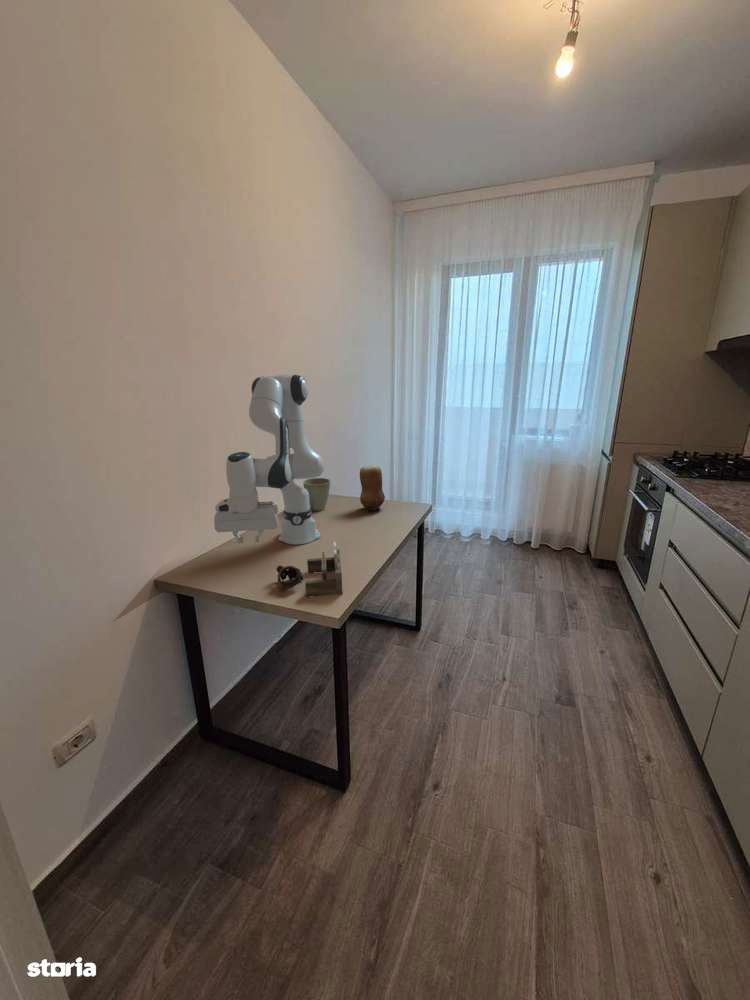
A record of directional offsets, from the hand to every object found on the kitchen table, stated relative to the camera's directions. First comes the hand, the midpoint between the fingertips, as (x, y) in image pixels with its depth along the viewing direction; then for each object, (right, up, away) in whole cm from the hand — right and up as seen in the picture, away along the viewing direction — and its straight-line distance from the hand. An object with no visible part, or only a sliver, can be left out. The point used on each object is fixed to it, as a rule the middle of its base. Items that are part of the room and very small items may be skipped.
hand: (249, 542), depth 134 cm
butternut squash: (+41, +9, +85) cm, 95 cm away
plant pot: (+11, +9, +89) cm, 90 cm away
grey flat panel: (+25, -15, +8) cm, 30 cm away
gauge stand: (+25, -15, +8) cm, 30 cm away
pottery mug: (+12, -16, +7) cm, 21 cm away
